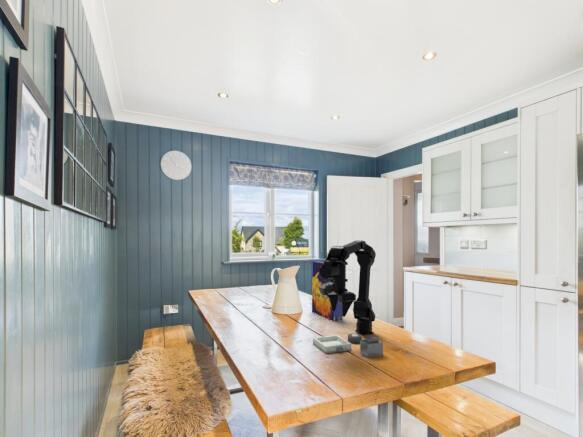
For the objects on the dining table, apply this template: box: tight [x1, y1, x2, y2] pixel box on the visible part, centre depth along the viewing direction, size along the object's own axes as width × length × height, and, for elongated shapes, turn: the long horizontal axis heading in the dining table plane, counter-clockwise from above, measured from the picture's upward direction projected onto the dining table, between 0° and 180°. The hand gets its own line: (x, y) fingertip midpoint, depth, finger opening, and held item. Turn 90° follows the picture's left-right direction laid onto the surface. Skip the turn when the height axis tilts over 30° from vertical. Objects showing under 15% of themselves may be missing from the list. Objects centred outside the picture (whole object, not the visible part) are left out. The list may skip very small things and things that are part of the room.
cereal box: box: [311, 260, 343, 322], centre depth 184 cm, size 22×6×30 cm, turn 28°
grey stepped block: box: [359, 336, 384, 358], centre depth 126 cm, size 7×5×6 cm
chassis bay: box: [312, 334, 352, 354], centre depth 133 cm, size 12×15×2 cm
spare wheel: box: [347, 333, 363, 345], centre depth 141 cm, size 6×6×3 cm
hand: (338, 313), depth 135 cm, fingers open, 9 cm apart
